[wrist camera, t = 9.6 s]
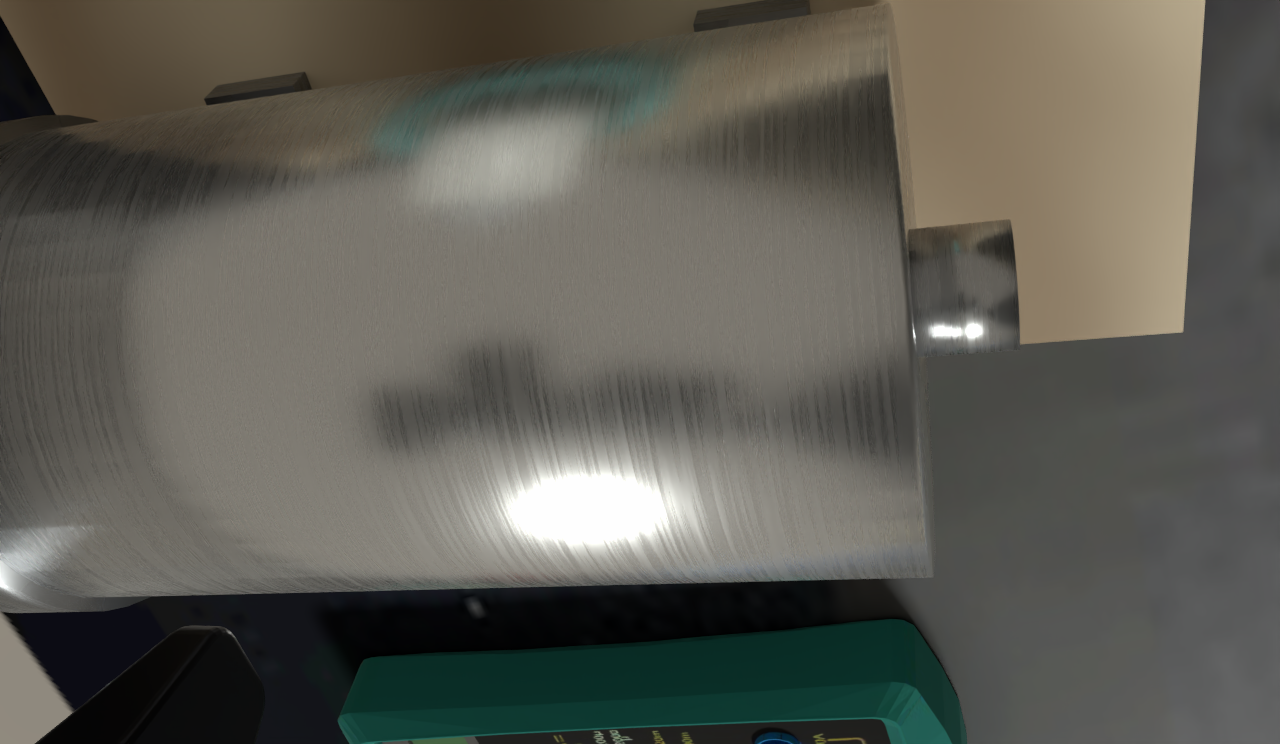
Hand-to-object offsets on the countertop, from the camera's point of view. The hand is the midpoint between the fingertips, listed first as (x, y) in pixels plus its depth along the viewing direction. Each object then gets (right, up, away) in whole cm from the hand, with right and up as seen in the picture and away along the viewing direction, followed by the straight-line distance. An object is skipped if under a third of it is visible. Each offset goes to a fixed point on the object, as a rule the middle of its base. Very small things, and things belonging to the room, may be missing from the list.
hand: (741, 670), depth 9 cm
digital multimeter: (0, -6, +21) cm, 22 cm away
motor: (-2, +6, +11) cm, 13 cm away
